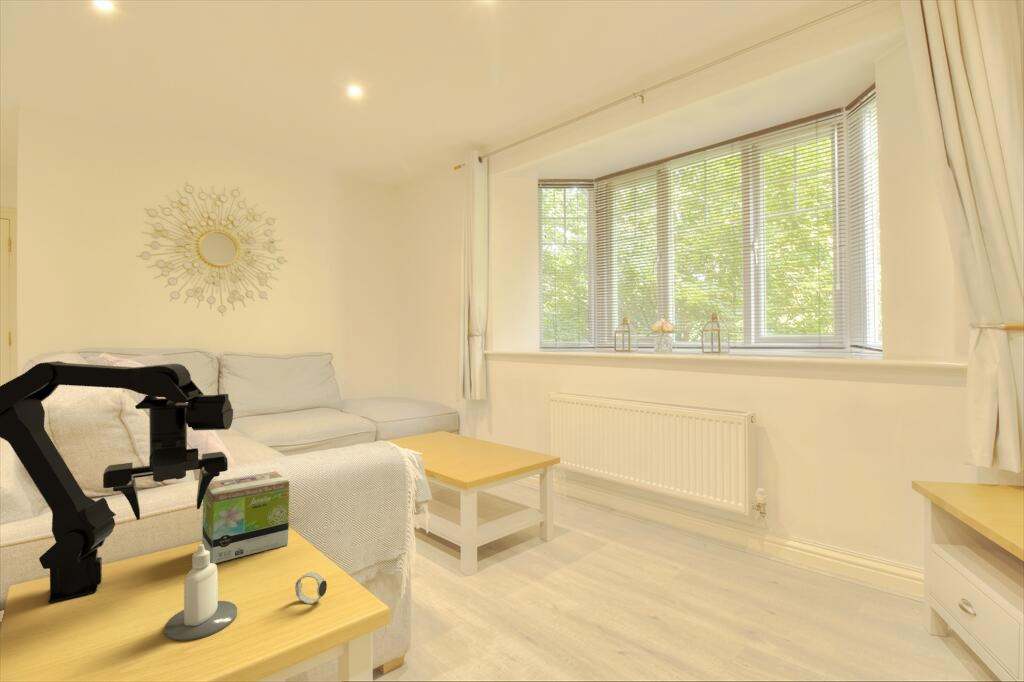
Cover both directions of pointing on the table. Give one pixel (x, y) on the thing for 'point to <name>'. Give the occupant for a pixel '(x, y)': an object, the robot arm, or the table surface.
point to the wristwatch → (321, 589)
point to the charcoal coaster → (217, 622)
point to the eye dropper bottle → (200, 589)
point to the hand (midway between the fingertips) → (169, 513)
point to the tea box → (245, 515)
